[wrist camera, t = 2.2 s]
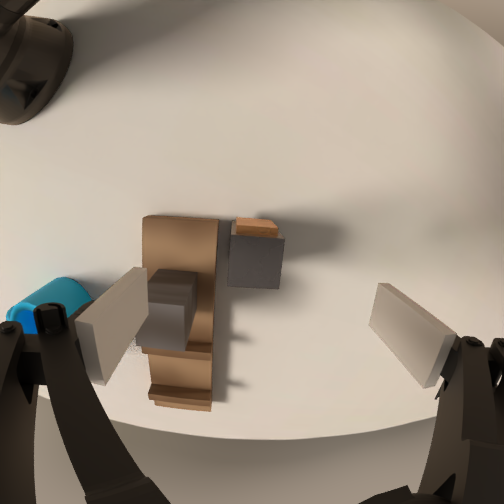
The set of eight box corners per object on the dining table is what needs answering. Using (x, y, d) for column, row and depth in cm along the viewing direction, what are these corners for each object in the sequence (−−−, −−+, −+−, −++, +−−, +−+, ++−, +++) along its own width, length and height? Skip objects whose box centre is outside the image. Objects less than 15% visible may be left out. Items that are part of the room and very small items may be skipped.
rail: (148, 215, 28) (108, 232, 18) (219, 219, 29) (210, 238, 19) (157, 395, 34) (141, 449, 24) (211, 401, 34) (207, 458, 24)
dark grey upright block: (232, 214, 29) (231, 226, 21) (271, 217, 29) (285, 230, 21) (229, 258, 30) (227, 285, 22) (267, 261, 30) (278, 289, 22)
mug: (91, 280, 29) (56, 308, 21) (100, 340, 31) (73, 376, 23) (22, 271, 28) (-16, 292, 21) (33, 325, 30) (2, 353, 22)
